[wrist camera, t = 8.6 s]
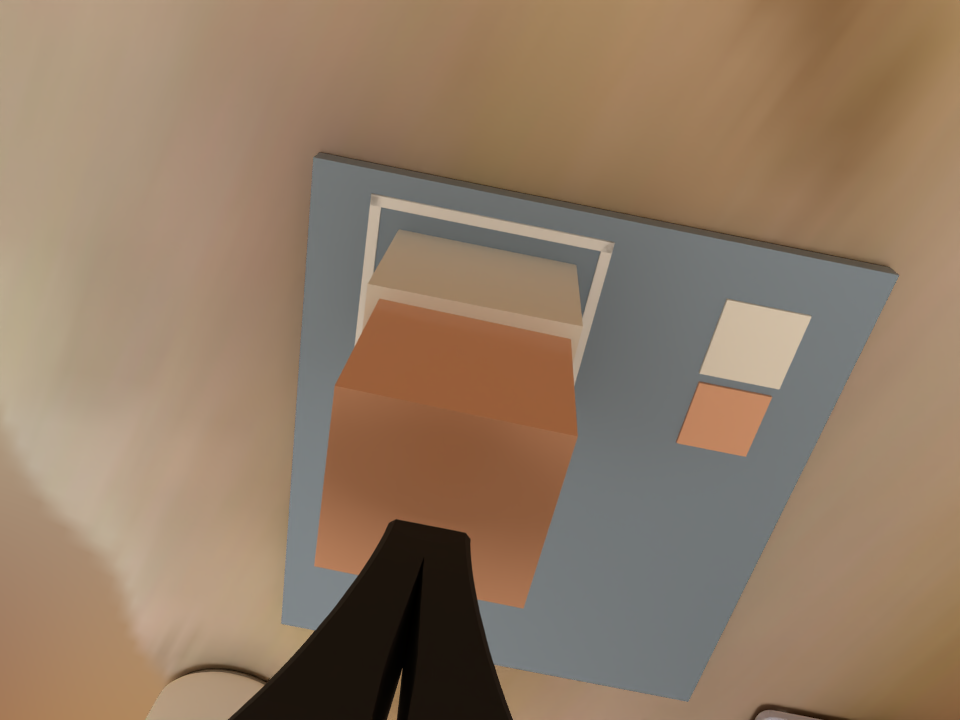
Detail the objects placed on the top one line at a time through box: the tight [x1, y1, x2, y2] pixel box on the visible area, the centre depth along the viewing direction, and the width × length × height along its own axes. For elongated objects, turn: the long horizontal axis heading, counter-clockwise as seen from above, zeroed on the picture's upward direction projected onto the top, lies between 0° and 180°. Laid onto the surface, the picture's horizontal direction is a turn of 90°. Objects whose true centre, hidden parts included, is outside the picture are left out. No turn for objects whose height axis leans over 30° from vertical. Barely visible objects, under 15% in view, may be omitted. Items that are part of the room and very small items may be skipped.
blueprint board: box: [281, 152, 899, 702], centre depth 24 cm, size 16×18×1 cm
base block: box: [362, 229, 583, 362], centre depth 19 cm, size 5×5×4 cm
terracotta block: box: [314, 299, 578, 609], centre depth 16 cm, size 4×4×4 cm
